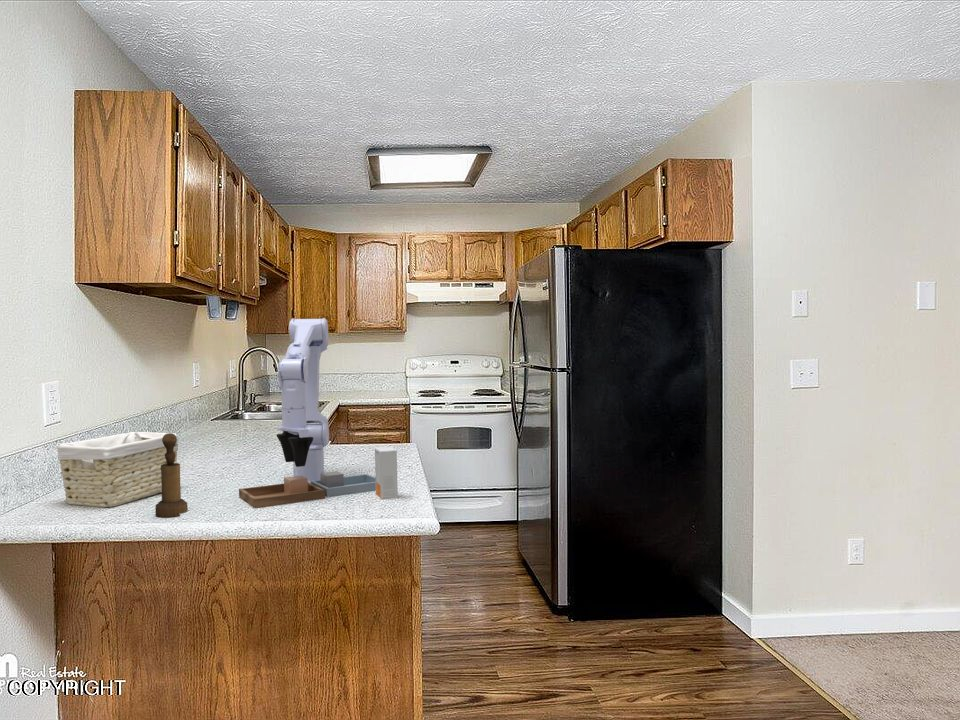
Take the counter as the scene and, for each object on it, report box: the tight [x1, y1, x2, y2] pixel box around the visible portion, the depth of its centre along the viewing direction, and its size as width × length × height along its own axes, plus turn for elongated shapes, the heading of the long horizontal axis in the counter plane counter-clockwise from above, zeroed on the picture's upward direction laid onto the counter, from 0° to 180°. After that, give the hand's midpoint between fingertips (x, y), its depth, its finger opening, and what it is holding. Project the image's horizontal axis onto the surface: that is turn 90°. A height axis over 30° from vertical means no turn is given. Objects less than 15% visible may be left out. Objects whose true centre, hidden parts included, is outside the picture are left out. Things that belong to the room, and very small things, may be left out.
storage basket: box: [56, 431, 179, 508], centre depth 180 cm, size 24×16×15 cm
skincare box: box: [374, 446, 399, 500], centre depth 175 cm, size 6×4×12 cm
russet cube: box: [283, 475, 308, 495], centre depth 176 cm, size 4×4×4 cm
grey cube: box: [320, 470, 345, 488], centre depth 181 cm, size 4×4×4 cm
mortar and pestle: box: [154, 432, 189, 518], centre depth 162 cm, size 7×6×18 cm
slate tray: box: [309, 473, 376, 498], centre depth 183 cm, size 12×16×2 cm
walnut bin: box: [238, 482, 326, 509], centre depth 174 cm, size 14×17×2 cm
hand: (295, 464), depth 176 cm, fingers open, 7 cm apart
